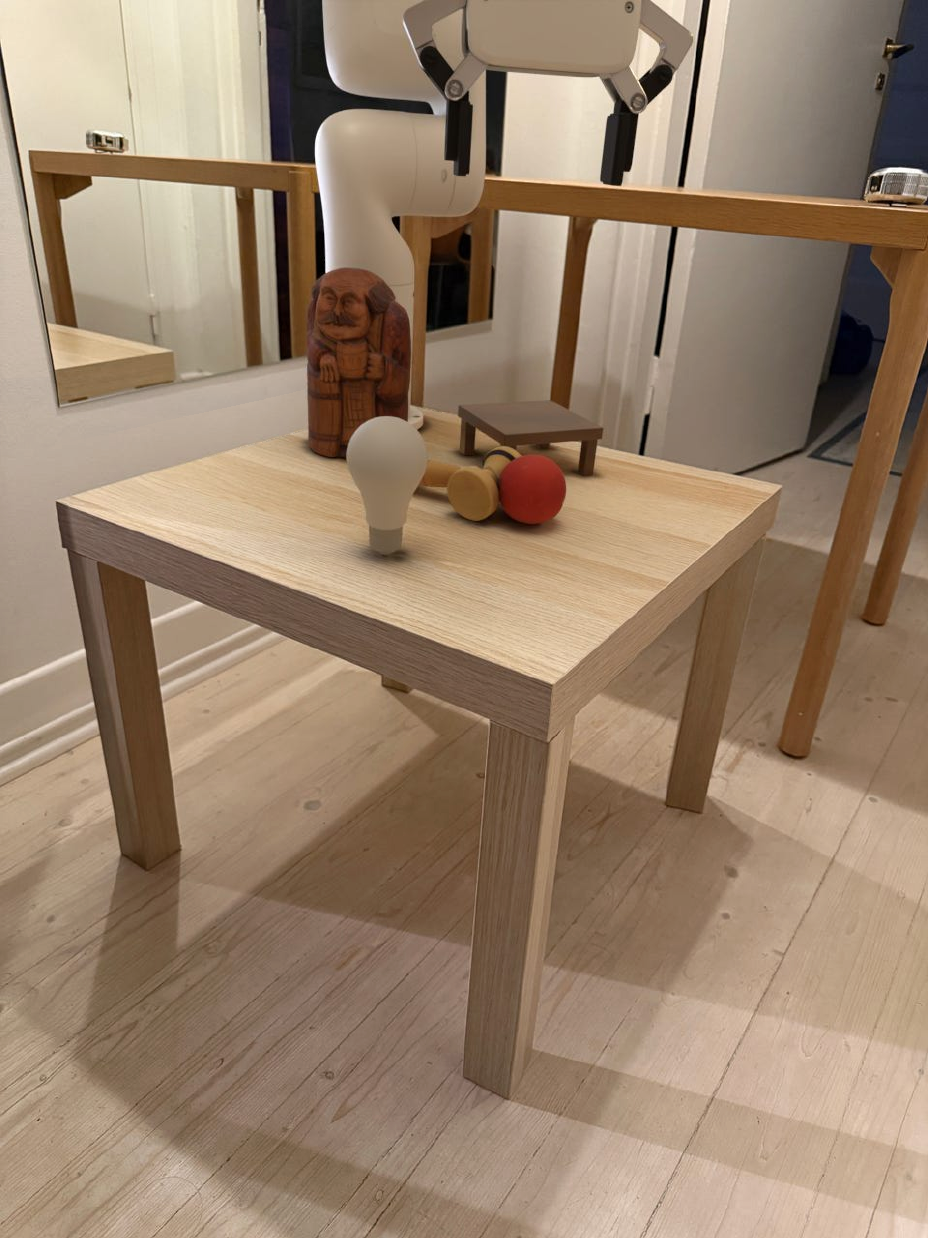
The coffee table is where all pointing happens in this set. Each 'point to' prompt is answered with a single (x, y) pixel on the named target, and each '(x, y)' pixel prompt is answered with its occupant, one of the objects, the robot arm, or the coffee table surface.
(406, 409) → the wooden figurine
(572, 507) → the coffee table surface
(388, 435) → the lightbulb
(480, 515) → the kendama
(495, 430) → the desk
